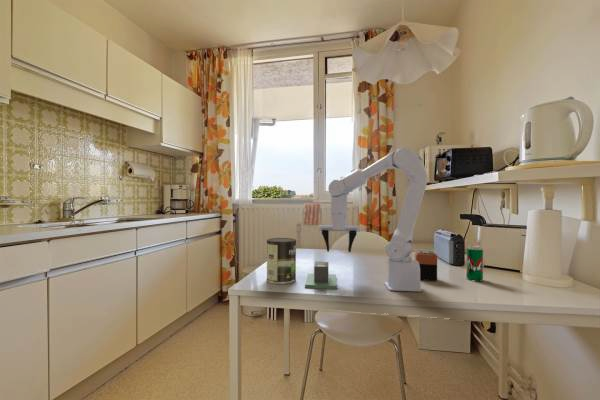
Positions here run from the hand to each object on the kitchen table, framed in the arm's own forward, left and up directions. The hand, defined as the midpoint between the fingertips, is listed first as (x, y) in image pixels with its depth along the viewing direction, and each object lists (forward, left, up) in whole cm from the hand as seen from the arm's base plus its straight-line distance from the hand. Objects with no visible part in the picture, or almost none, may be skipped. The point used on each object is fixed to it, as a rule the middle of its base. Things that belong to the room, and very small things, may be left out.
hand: (338, 251), depth 104 cm
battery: (-31, -2, -10) cm, 33 cm away
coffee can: (+20, +6, -10) cm, 23 cm away
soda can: (-48, -3, -10) cm, 49 cm away
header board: (+6, +7, -9) cm, 13 cm away
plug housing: (+6, +7, -8) cm, 12 cm away
